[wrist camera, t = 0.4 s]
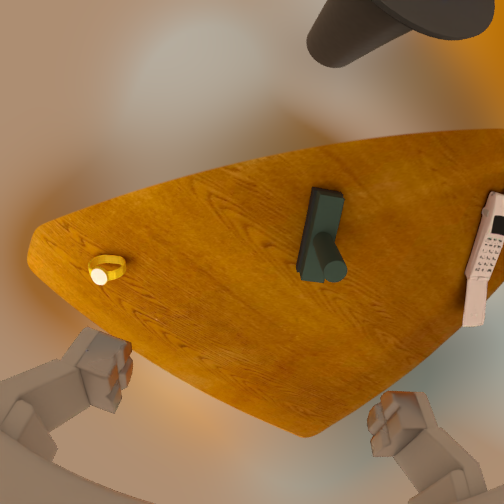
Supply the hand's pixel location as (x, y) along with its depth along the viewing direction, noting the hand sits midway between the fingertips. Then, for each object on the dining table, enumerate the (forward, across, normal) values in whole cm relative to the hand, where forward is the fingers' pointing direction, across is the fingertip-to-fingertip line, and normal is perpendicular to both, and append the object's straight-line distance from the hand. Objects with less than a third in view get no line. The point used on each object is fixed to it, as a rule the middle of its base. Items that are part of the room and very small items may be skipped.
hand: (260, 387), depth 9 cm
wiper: (+34, -8, +6) cm, 35 cm away
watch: (+33, +21, +18) cm, 43 cm away
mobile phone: (+35, -38, +2) cm, 52 cm away
